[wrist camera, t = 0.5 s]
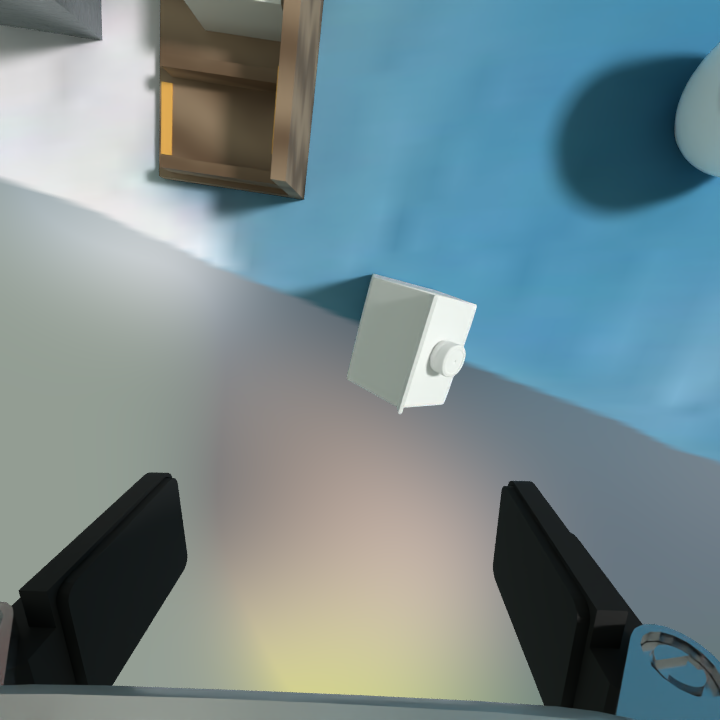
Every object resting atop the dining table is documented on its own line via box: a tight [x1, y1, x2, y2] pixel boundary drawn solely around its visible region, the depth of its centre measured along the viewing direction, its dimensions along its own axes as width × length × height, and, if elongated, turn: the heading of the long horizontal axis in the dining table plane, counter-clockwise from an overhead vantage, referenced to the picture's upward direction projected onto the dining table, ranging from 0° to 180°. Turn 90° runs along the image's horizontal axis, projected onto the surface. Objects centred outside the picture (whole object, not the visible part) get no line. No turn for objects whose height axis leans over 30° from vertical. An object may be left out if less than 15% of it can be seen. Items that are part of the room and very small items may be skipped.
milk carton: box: [347, 274, 477, 414], centre depth 30 cm, size 7×7×19 cm
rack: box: [159, 0, 324, 200], centre depth 30 cm, size 18×14×8 cm
